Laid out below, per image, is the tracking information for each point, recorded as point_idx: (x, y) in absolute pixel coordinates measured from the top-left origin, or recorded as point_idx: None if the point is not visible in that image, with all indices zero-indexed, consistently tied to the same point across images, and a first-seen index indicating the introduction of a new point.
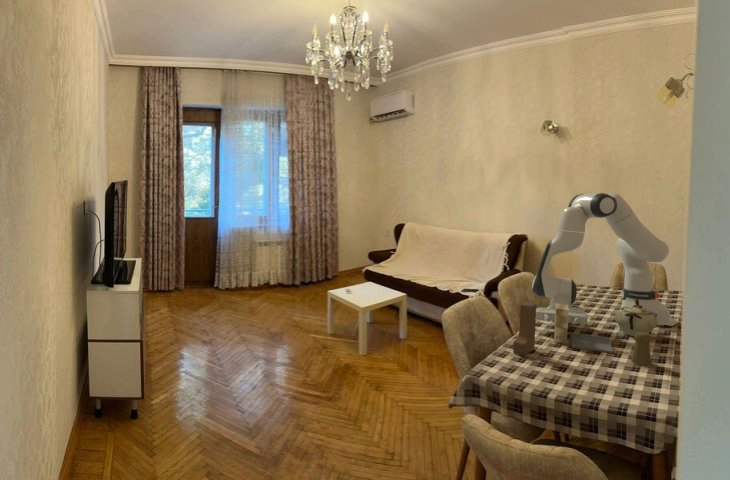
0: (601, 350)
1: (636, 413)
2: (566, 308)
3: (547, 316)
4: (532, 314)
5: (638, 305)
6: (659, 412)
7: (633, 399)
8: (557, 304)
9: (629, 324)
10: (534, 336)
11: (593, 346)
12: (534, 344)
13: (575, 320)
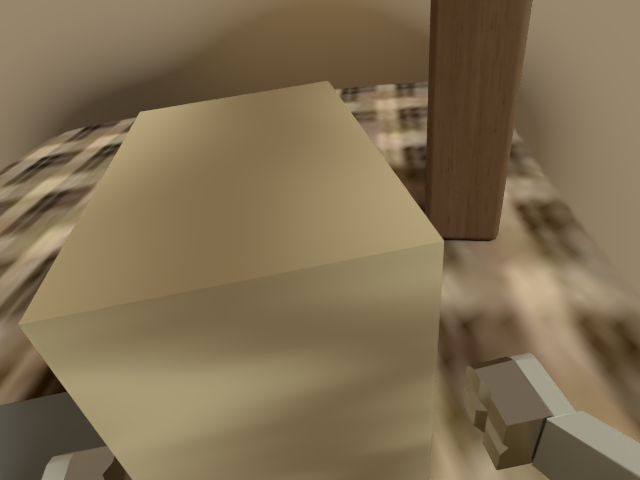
0: (2, 409)
1: (120, 120)
2: (159, 132)
3: (557, 412)
4: None
5: None
6: (68, 136)
7: (99, 145)
8: (381, 230)
9: None
10: (426, 158)
11: (33, 446)
12: (425, 208)
13: (48, 467)
